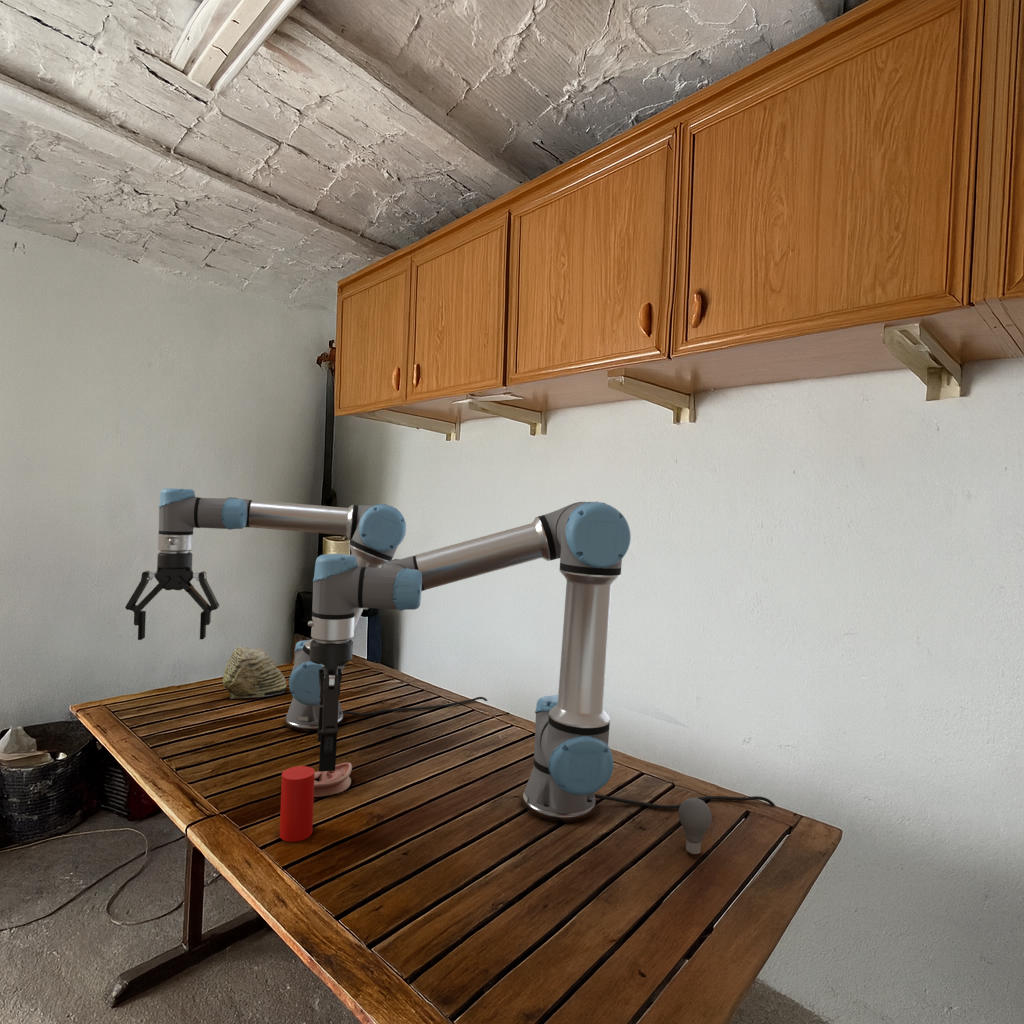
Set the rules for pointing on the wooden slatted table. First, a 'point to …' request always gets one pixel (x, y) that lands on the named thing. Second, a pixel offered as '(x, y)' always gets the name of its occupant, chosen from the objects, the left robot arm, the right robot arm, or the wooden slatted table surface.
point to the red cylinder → (297, 803)
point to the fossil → (252, 674)
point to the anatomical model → (332, 780)
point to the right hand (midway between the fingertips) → (326, 754)
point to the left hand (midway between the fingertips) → (172, 638)
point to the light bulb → (694, 822)
